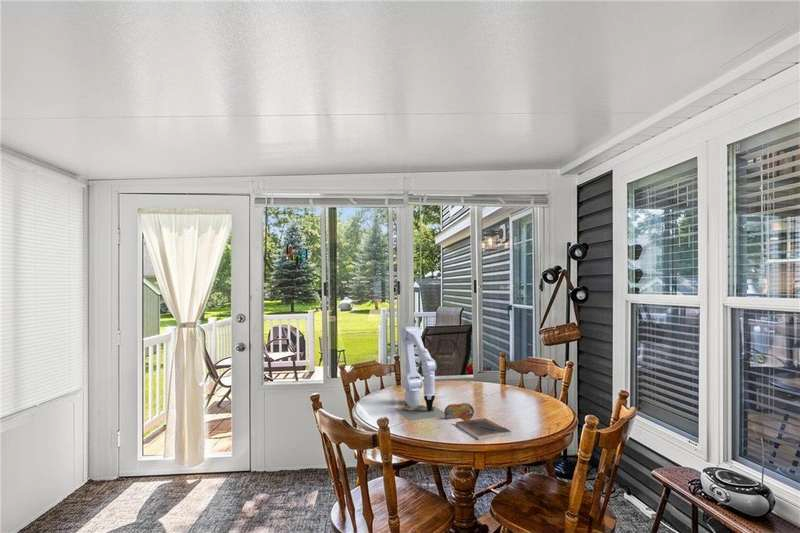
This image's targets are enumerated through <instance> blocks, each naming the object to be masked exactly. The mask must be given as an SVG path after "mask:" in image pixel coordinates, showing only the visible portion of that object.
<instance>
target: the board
mask: <svg viewBox="0 0 800 533" xmlns="http://www.w3.org/2000/svg"><path fill="white" fill-rule="evenodd" d="M394 410H395V411H396V412H398V413H399V414H400V415H402V416H403V417H404V418H405V419H406V420H408V421H417V420H426V419H433V418H434V419H435V418H443V417H444V418H446V417H445V414H444V410H442V409H440V408H438V407H437V406H435V405H434V411H432V410H402V407H399V408H394Z"/></svg>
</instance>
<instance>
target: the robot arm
mask: <svg viewBox="0 0 800 533" xmlns="http://www.w3.org/2000/svg"><path fill="white" fill-rule="evenodd" d="M400 336H401V342H402V343H403V347H404V354H405V355H404V356H405V360H406V362H405V363H406V370H407V373H406V374H405V375H403V382H402V384H403V385H402V386H403V388H404V390H405V391H404V403H408V405H414V400H419V405H421V404H420V402H421V401H420V400H421V399H420V398H421V396H420V391H421V390H422V388H423V399H424V401H425V405H426V406H427V410H432V405H434V401H435V398H436V395H437V394H438V392H437V391H436V385H435V384H436V383H435V382H436V379H435V377H436V375H435V372H436V371H437V368H438V366H437V361H436V360H435V359H434V358H432V356H431V354H430V352H429V350H428V348H425V346H424V342H423V340H422V331H421V328H420V326H417V325H416V326H403V327H402V328H401V331H400ZM414 346H415V347H416V349H417V350H418V351H417V355H418V357H419V360H420V363H421V370H422V374H420V373H419V372H417V366H416V358H415V349H414ZM421 375H422V376H423V379H422V376H421Z"/></svg>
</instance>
